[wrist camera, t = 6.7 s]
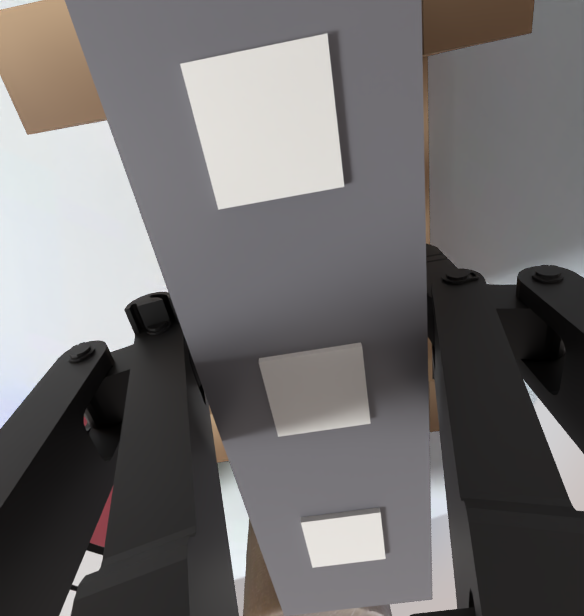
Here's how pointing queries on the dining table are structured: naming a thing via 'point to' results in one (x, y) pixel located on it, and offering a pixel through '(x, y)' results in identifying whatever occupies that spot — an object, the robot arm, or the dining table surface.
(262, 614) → the pillar candle
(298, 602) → the power strip
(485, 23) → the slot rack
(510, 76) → the dining table surface
